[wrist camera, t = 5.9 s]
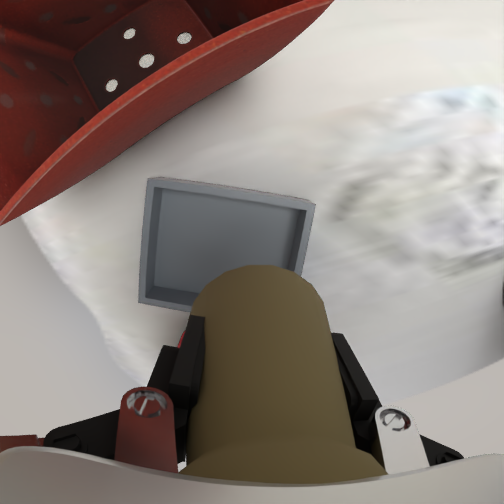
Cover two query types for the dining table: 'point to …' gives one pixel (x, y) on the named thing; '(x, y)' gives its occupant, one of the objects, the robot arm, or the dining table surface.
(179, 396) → the robot arm
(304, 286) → the cork
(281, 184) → the dining table surface
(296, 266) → the tray
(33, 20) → the plant pot
